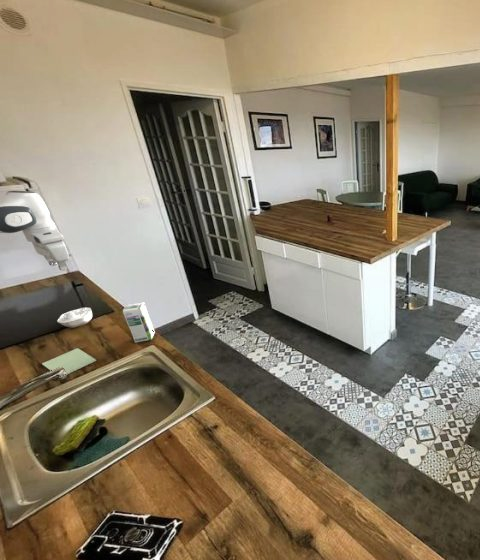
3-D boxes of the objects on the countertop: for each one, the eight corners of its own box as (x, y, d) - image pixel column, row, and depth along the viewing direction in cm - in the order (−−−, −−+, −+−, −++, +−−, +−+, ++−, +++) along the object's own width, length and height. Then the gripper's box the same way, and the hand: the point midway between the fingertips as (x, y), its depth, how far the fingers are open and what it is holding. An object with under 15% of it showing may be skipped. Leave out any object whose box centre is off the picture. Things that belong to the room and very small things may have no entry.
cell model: (102, 316, 138) (97, 303, 135) (82, 331, 127) (75, 317, 124) (77, 317, 136) (70, 304, 133) (54, 333, 125) (46, 319, 123)
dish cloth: (59, 377, 103) (59, 377, 103) (42, 364, 109) (41, 363, 109) (96, 360, 111) (96, 359, 111) (78, 348, 117) (77, 348, 117)
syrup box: (134, 343, 121) (121, 311, 114) (138, 335, 125) (126, 304, 119) (152, 340, 123) (140, 308, 117) (155, 332, 128) (144, 301, 121)
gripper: (20, 232, 119) (37, 265, 125) (41, 240, 110) (59, 275, 116) (42, 228, 124) (58, 260, 130) (65, 236, 115) (80, 270, 121)
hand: (58, 267), depth 123 cm, fingers open, 8 cm apart
